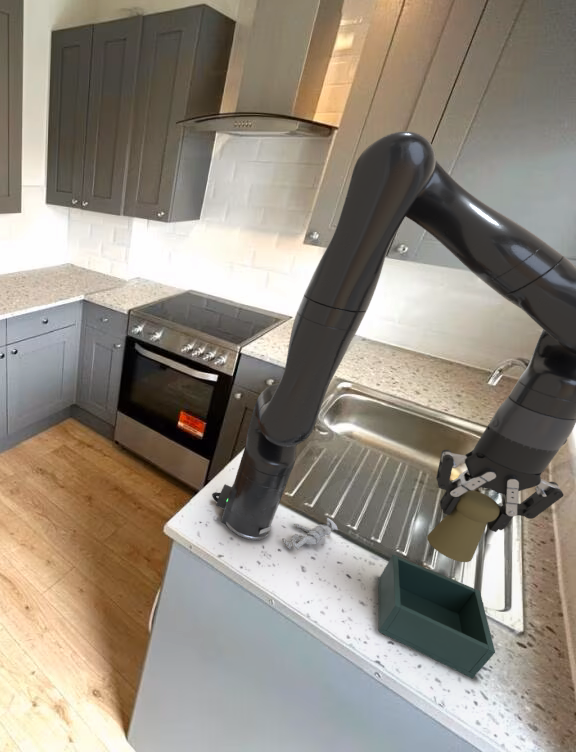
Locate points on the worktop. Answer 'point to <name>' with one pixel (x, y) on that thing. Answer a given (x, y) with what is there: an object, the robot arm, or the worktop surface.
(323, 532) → the soldier figure
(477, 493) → the cork
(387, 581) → the tote
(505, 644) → the worktop surface
